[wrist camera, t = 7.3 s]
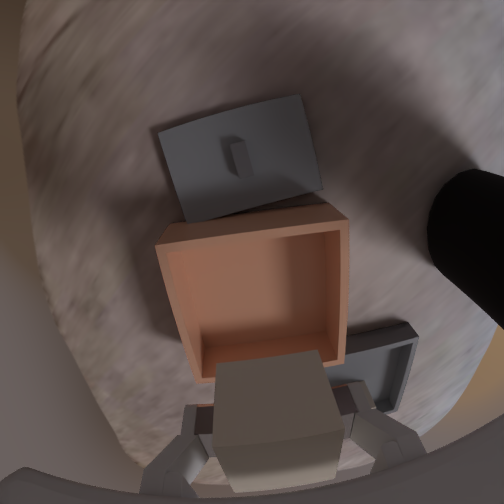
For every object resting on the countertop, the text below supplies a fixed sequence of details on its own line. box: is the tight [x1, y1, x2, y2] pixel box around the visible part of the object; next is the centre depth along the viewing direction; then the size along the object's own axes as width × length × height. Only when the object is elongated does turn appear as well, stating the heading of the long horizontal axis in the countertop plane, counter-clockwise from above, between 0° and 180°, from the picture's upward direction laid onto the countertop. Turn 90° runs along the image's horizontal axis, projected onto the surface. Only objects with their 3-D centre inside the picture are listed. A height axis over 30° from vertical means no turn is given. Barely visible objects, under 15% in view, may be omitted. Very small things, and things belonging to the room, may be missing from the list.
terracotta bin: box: [155, 203, 349, 384], centre depth 22 cm, size 12×12×4 cm
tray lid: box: [158, 94, 323, 224], centre depth 20 cm, size 7×10×2 cm
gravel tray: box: [324, 322, 419, 414], centre depth 28 cm, size 12×13×2 cm
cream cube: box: [212, 349, 345, 492], centre depth 10 cm, size 4×4×4 cm
